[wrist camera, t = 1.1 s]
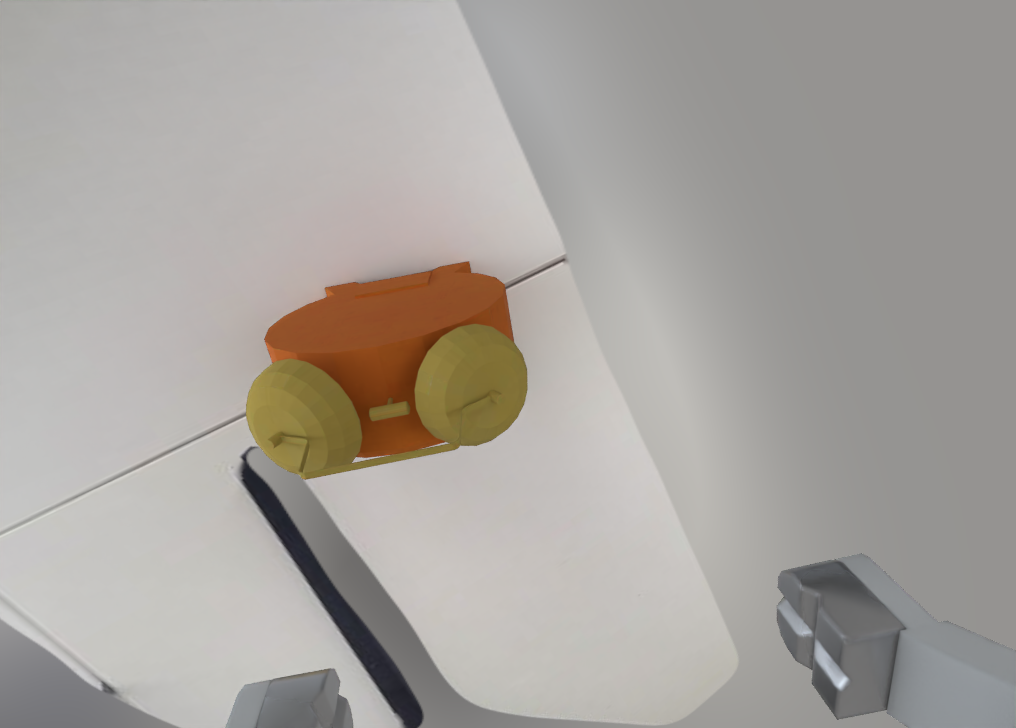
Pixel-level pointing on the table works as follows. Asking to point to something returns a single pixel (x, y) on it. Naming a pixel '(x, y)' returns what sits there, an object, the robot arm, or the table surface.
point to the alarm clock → (388, 373)
